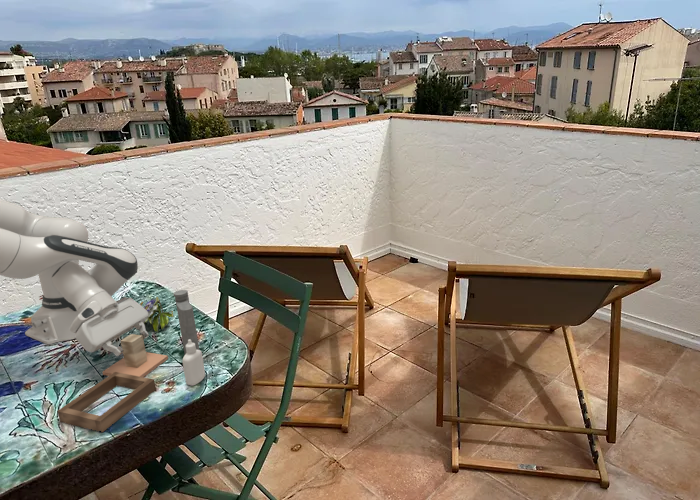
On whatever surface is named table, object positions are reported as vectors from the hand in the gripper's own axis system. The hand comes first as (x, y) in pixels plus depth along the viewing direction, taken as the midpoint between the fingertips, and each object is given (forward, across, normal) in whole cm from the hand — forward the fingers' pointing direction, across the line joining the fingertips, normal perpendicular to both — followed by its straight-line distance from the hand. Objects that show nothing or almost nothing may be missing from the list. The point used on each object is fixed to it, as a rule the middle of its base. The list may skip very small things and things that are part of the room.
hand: (133, 345), depth 127 cm
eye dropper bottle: (+19, +1, +9) cm, 22 cm away
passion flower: (-5, -23, -15) cm, 28 cm away
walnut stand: (+9, +16, 0) cm, 19 cm away
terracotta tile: (+4, 0, -5) cm, 7 cm away
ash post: (+4, 0, -4) cm, 6 cm away
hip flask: (+12, -10, +2) cm, 16 cm away
